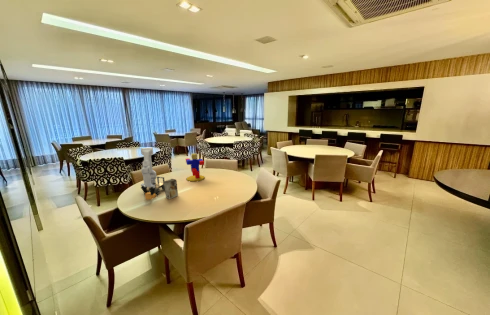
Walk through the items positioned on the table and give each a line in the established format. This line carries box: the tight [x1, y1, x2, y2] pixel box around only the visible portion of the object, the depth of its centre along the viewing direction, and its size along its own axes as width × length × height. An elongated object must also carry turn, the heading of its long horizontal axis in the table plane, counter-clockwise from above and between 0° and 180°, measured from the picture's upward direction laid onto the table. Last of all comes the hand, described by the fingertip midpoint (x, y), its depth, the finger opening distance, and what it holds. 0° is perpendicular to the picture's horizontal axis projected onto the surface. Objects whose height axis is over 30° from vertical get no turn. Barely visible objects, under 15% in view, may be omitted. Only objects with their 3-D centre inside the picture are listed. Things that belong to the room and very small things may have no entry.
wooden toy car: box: [147, 176, 165, 196], centre depth 189 cm, size 17×14×13 cm
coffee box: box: [164, 178, 179, 200], centre depth 177 cm, size 9×6×16 cm
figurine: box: [185, 153, 206, 183], centre depth 224 cm, size 22×22×30 cm
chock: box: [144, 191, 157, 201], centre depth 176 cm, size 5×7×6 cm
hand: (149, 194), depth 175 cm, fingers open, 7 cm apart
